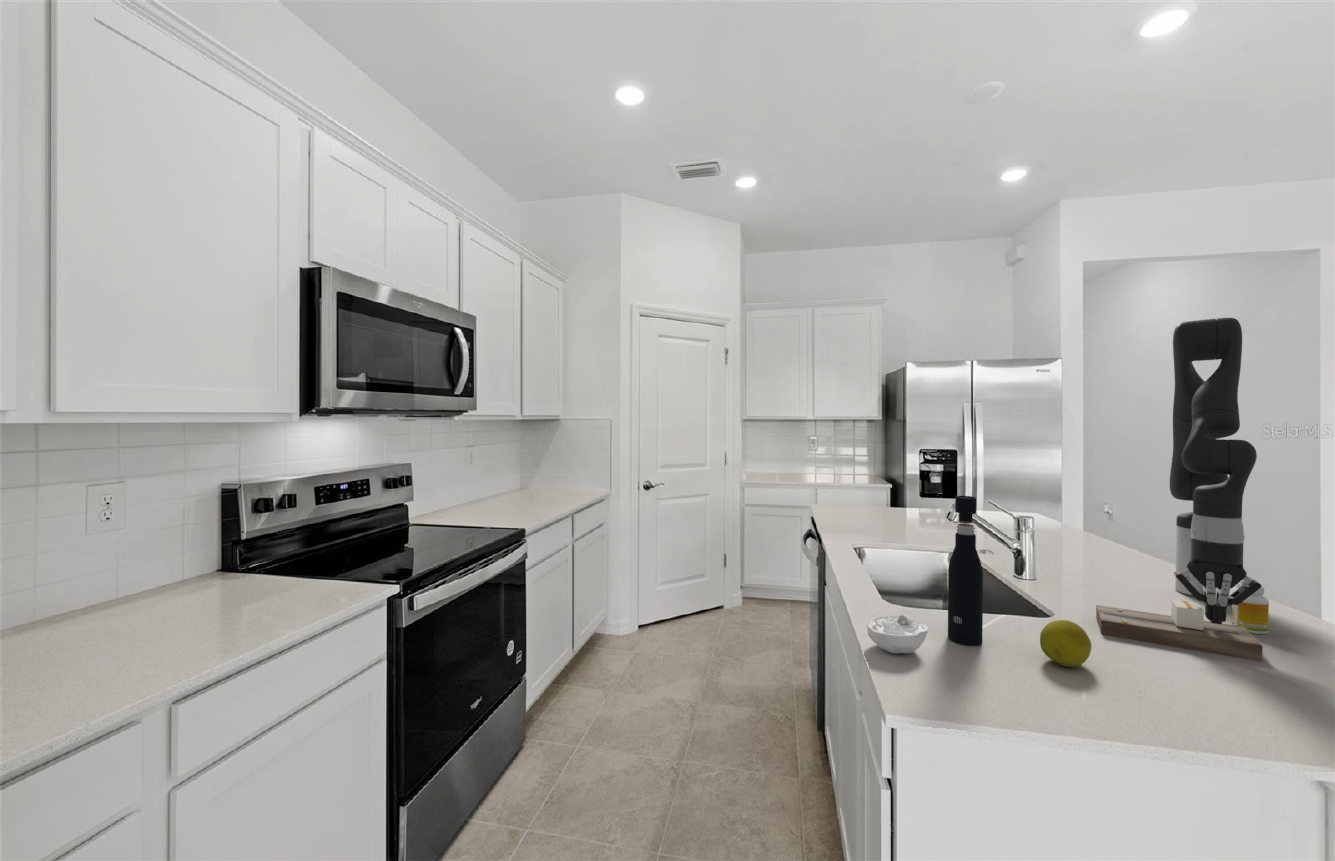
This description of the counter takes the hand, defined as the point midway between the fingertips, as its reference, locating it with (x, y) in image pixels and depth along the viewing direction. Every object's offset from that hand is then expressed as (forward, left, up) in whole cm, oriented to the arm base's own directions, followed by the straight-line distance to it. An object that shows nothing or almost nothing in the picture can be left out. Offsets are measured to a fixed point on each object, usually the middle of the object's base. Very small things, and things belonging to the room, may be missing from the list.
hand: (1215, 622), depth 111 cm
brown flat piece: (0, -7, -4) cm, 8 cm away
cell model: (+37, -54, -5) cm, 65 cm away
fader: (0, -4, -2) cm, 4 cm away
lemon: (+27, -26, -5) cm, 37 cm away
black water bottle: (+25, -43, -5) cm, 49 cm away
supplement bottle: (-14, +8, -5) cm, 17 cm away
